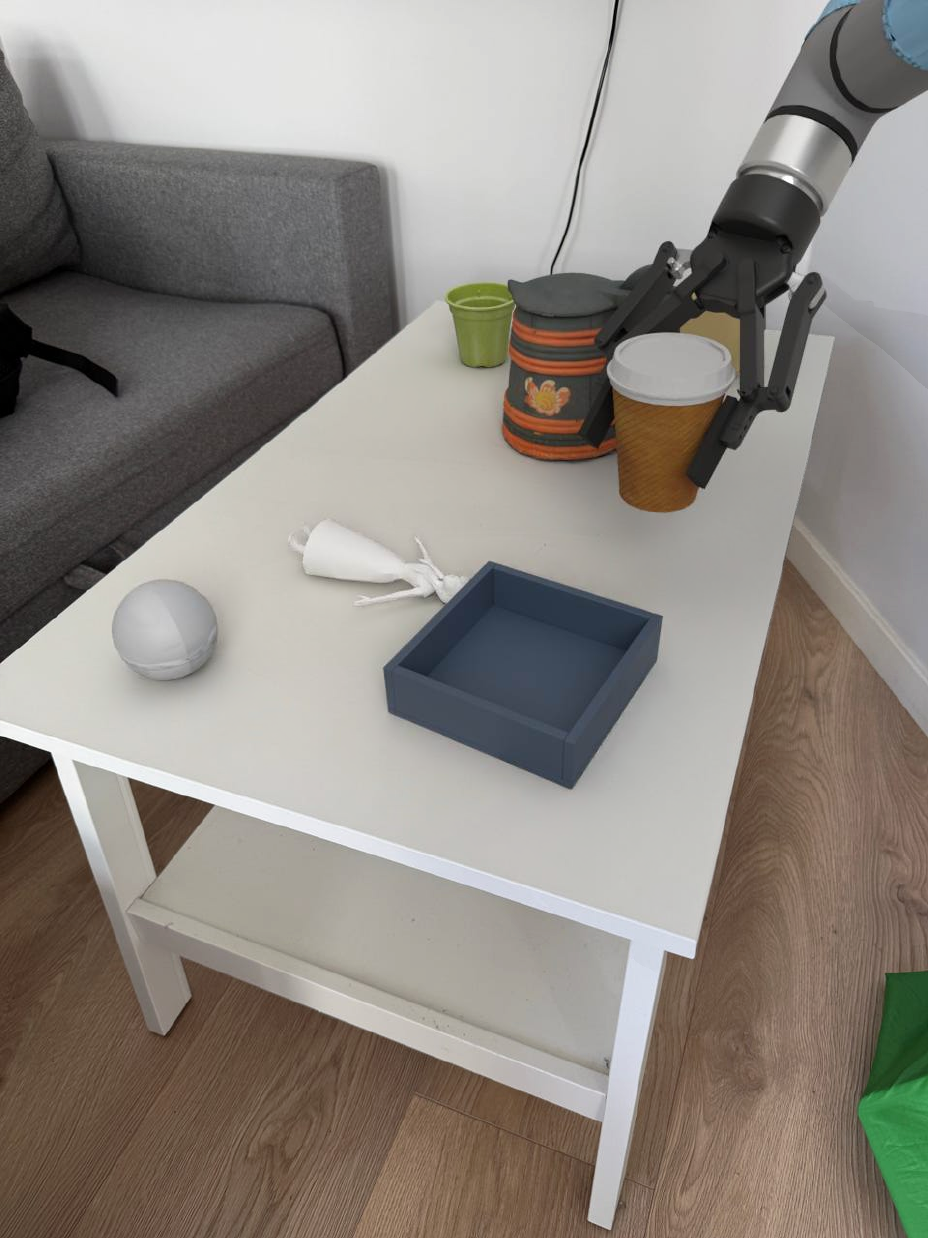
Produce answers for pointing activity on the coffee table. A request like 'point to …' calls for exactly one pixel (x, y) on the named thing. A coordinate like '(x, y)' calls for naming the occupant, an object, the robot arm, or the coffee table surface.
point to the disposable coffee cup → (664, 413)
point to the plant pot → (481, 321)
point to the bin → (525, 670)
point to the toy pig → (717, 331)
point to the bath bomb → (164, 629)
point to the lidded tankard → (559, 361)
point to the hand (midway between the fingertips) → (639, 460)
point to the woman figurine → (370, 563)
